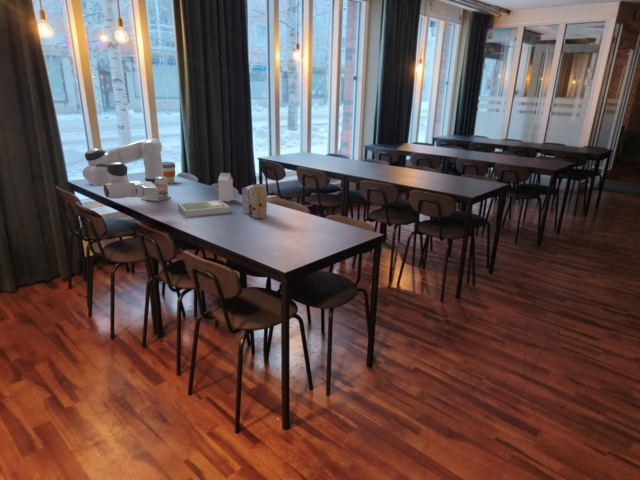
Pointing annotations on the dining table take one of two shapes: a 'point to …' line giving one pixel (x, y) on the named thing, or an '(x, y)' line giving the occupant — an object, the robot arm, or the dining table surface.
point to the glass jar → (162, 183)
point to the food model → (259, 201)
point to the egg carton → (214, 204)
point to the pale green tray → (201, 209)
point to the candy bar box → (247, 199)
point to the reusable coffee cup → (169, 171)
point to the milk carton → (225, 187)
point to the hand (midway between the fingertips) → (163, 187)
